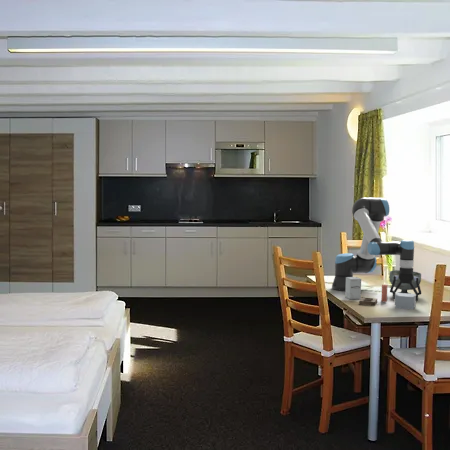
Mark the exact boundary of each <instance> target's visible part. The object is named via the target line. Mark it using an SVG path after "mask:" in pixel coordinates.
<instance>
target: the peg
mask: <svg viewBox="0 0 450 450" xmlns="http://www.w3.org/2000/svg"><path fill="white" fill-rule="evenodd" d="M381 302H382V303H387V302H388V284H381Z"/></svg>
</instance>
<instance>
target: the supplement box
mask: <svg viewBox="0 0 450 450" xmlns="http://www.w3.org/2000/svg"><path fill="white" fill-rule="evenodd" d="M344 292H345V294H344V295H345V296H344V297H345V298H346V299H348V300H360V299H361V298H362V296H361V295H362V278H360V277H358V276H356V277H355V276H353V277H346V289H345V291H344Z"/></svg>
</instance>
